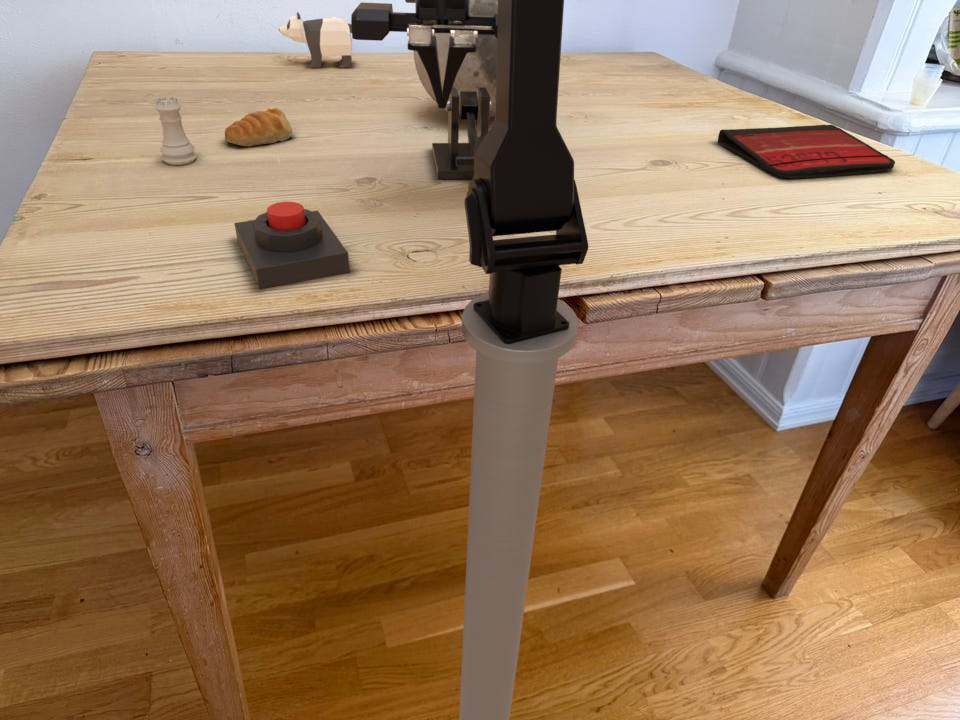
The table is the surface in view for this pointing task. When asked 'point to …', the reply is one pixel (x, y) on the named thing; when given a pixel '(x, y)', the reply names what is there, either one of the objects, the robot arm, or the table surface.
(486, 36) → the moon model
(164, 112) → the rook chess piece
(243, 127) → the pastry
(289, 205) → the button
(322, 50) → the giant panda
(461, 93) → the lever
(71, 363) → the table surface
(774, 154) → the binder
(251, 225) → the button box
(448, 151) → the bracket
